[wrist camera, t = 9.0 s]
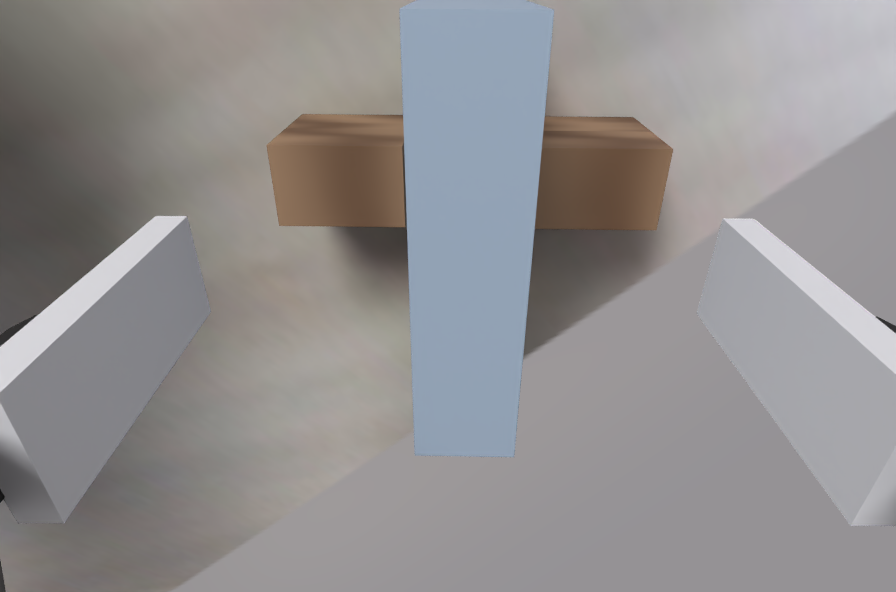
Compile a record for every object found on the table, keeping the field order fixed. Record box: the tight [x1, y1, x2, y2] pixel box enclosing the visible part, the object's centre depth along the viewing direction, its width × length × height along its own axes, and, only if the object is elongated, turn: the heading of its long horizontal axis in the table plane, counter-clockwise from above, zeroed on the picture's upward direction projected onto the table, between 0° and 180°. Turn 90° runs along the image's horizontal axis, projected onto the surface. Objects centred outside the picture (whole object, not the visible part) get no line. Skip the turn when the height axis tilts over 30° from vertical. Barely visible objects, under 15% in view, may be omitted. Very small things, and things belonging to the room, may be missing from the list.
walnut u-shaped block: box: [267, 114, 673, 230], centre depth 22 cm, size 14×3×5 cm, turn 90°
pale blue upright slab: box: [400, 0, 554, 457], centre depth 19 cm, size 3×12×12 cm, turn 0°
